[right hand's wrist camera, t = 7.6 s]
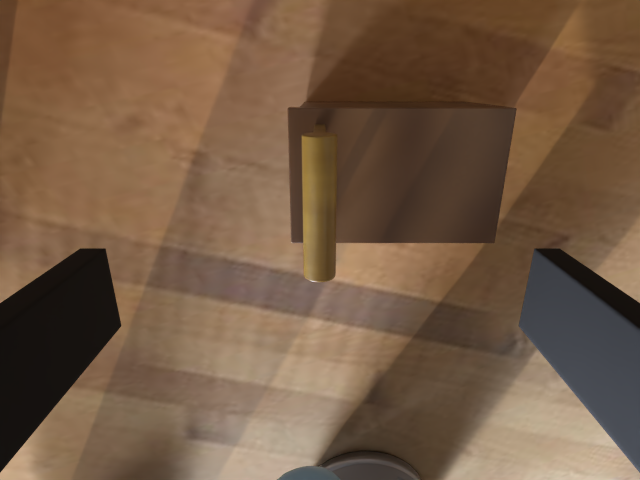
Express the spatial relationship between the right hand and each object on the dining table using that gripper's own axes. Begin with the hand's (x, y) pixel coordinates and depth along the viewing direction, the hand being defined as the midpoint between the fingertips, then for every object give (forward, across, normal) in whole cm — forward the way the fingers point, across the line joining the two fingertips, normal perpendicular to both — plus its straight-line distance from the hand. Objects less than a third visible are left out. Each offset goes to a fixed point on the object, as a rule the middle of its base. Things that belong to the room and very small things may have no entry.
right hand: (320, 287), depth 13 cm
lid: (+17, -5, 0) cm, 17 cm away
